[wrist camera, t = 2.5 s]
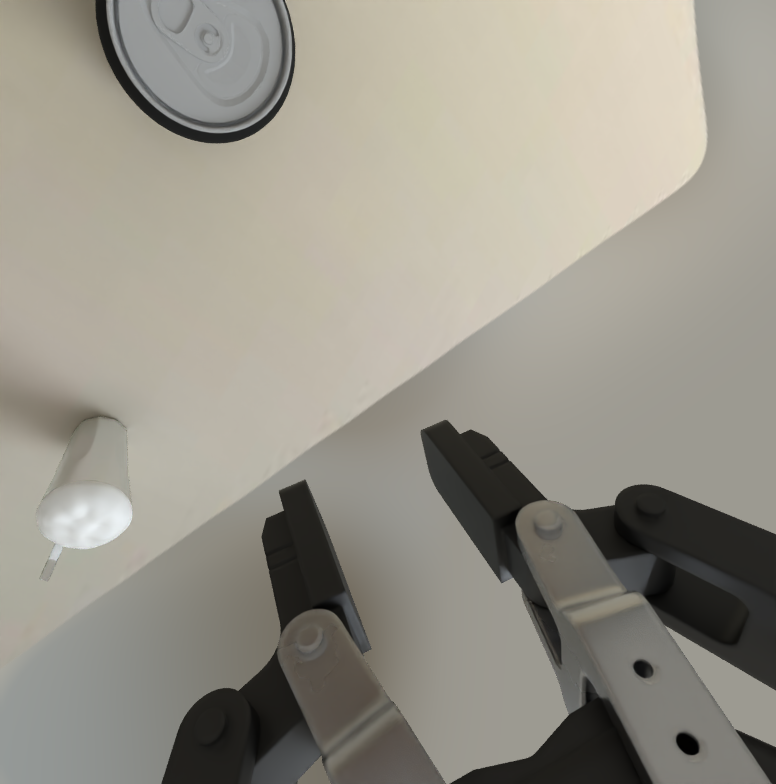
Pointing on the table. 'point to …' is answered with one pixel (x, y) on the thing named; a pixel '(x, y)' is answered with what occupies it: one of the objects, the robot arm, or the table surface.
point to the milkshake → (87, 491)
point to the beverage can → (201, 62)
